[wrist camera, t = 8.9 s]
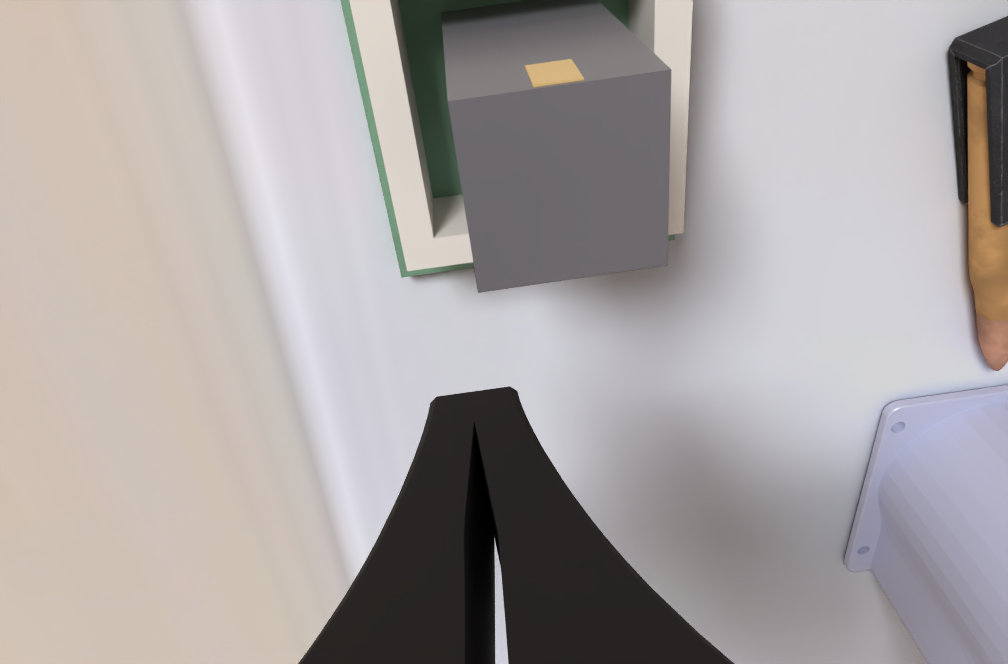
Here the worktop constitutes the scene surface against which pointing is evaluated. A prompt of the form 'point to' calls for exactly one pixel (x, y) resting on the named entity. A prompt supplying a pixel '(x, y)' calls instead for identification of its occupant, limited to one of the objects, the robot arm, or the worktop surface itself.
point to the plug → (557, 141)
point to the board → (427, 125)
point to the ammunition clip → (984, 174)
